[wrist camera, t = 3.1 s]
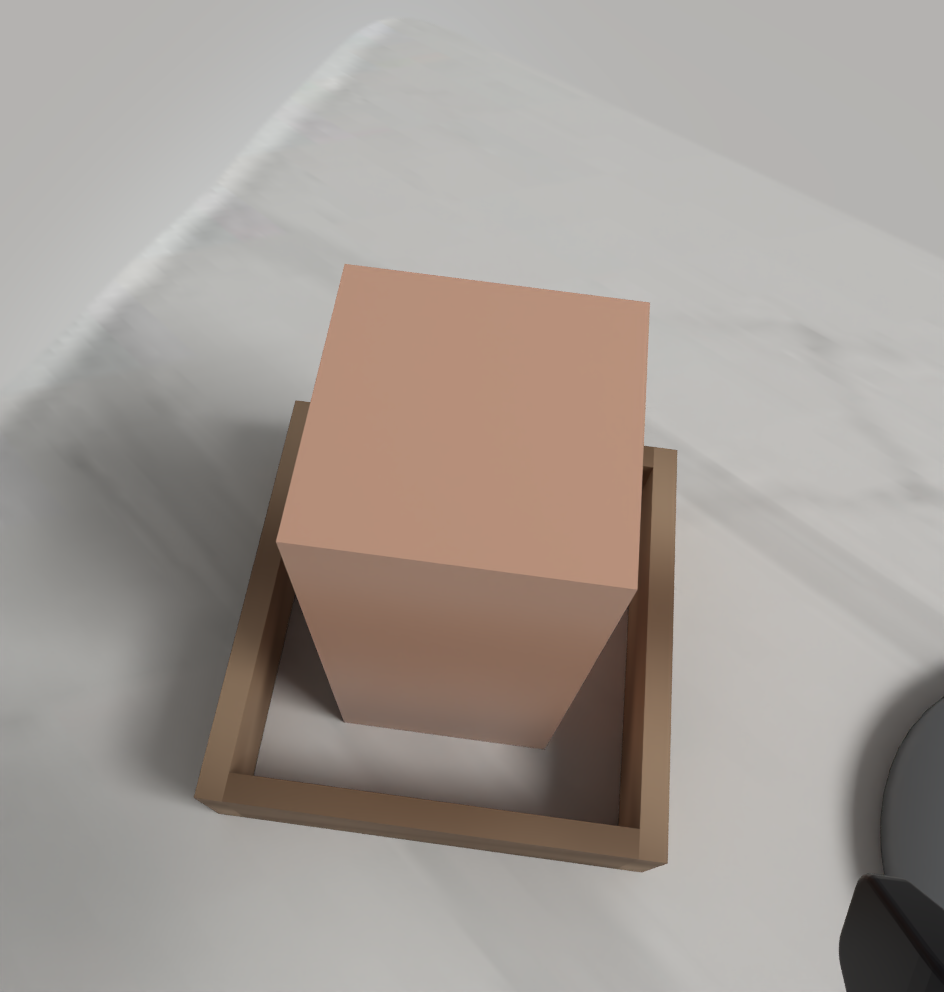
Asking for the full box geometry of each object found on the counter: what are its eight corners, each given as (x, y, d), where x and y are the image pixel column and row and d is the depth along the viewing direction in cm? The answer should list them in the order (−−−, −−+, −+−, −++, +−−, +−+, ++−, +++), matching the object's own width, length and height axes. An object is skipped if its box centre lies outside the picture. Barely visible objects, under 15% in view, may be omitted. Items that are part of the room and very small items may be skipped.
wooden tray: (641, 872, 21) (667, 863, 19) (218, 813, 21) (193, 797, 19) (655, 494, 25) (677, 450, 23) (307, 448, 25) (295, 400, 23)
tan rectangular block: (544, 749, 22) (637, 589, 12) (344, 722, 22) (275, 541, 12) (560, 563, 24) (649, 302, 14) (378, 539, 24) (344, 264, 15)
